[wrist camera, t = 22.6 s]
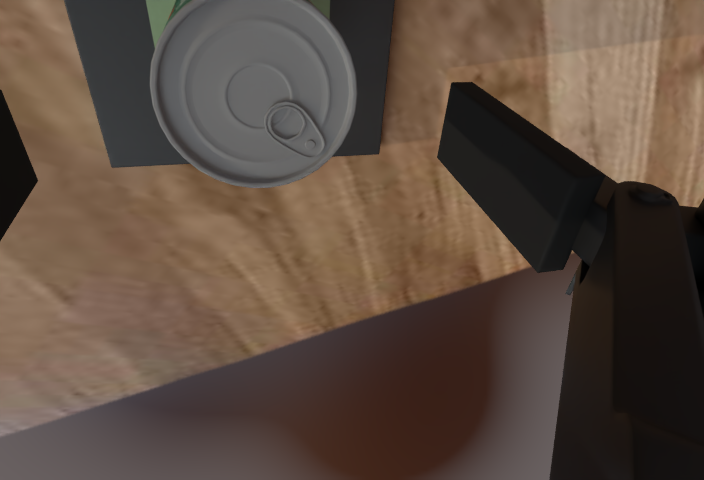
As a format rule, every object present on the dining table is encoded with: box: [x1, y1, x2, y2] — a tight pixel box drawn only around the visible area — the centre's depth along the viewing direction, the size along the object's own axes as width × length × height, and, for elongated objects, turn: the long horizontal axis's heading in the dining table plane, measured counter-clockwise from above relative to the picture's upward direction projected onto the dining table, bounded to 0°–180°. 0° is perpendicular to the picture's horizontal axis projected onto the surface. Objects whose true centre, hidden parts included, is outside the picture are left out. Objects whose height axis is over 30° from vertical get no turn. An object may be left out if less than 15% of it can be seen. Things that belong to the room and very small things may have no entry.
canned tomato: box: [150, 0, 357, 188], centre depth 22 cm, size 8×8×11 cm
